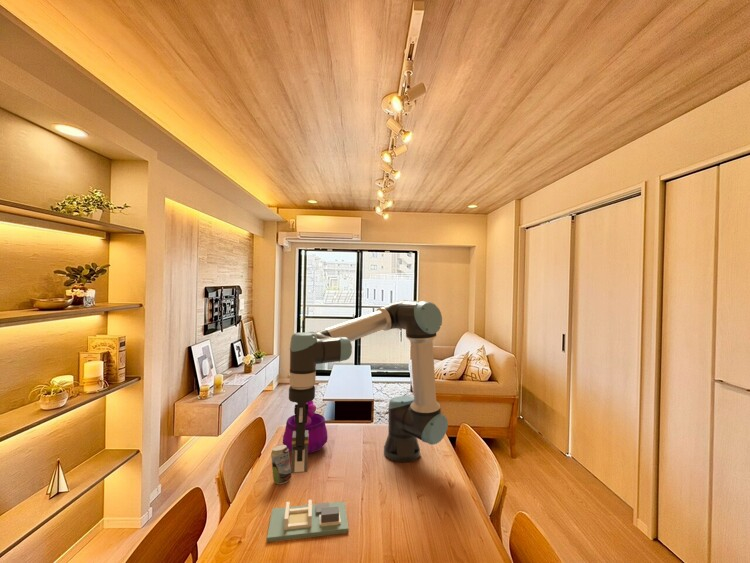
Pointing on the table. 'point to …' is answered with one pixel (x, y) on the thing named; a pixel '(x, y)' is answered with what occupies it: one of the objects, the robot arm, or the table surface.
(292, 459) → the plug
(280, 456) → the beverage can
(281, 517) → the board
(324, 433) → the decorative plant
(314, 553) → the table surface
